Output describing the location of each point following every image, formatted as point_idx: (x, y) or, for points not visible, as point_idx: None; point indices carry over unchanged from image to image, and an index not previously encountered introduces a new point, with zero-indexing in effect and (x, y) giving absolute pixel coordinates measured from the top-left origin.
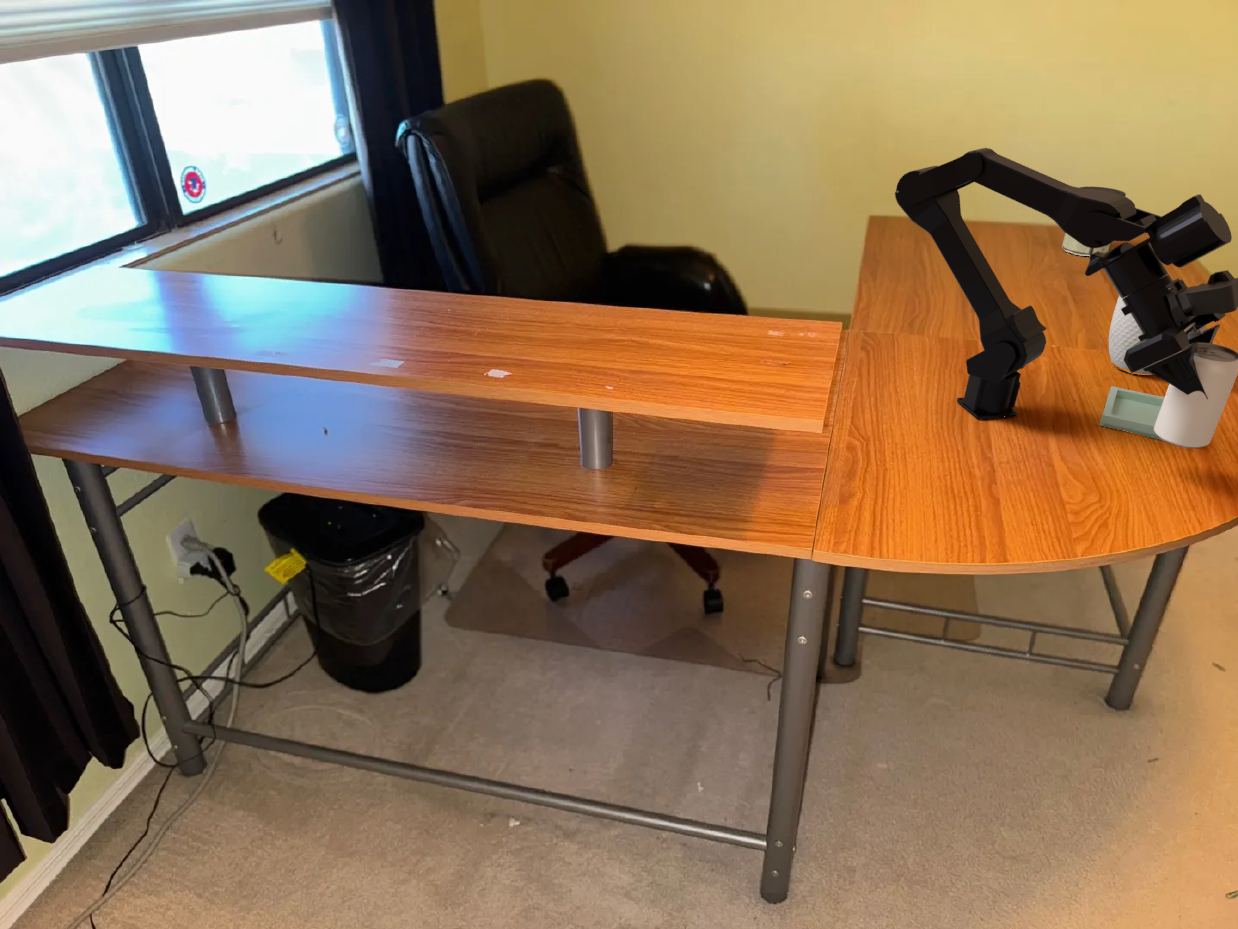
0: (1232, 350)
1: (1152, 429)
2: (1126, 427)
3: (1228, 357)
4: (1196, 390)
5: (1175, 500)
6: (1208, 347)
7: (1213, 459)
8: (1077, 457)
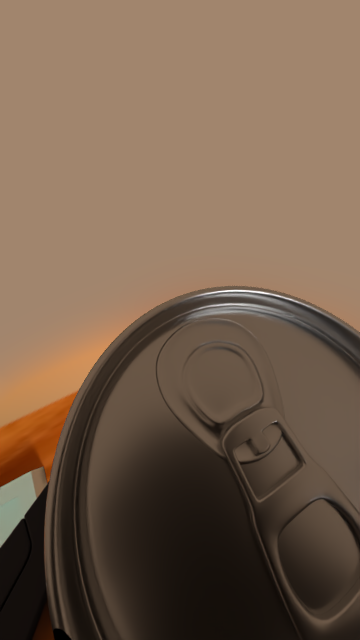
0: (94, 382)
1: None
2: None
3: (218, 349)
4: None
5: None
6: (144, 610)
7: (65, 419)
8: None
